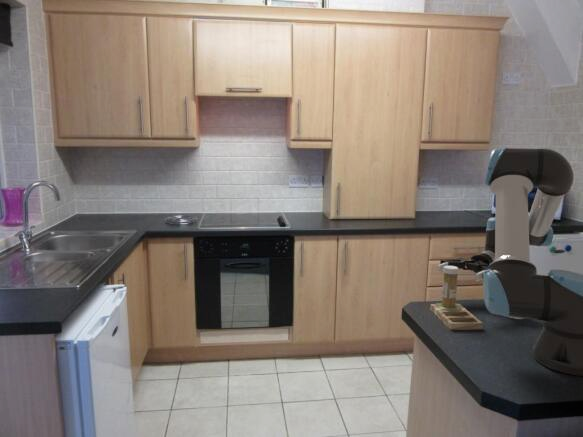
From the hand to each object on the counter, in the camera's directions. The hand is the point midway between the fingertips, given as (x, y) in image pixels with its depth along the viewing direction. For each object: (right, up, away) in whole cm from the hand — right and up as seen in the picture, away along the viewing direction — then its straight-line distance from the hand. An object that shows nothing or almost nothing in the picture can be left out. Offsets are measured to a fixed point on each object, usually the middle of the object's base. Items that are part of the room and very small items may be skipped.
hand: (456, 273), depth 148 cm
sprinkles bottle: (-3, -11, -2) cm, 11 cm away
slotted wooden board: (-3, -14, -7) cm, 16 cm away
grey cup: (+18, -14, -3) cm, 23 cm away
